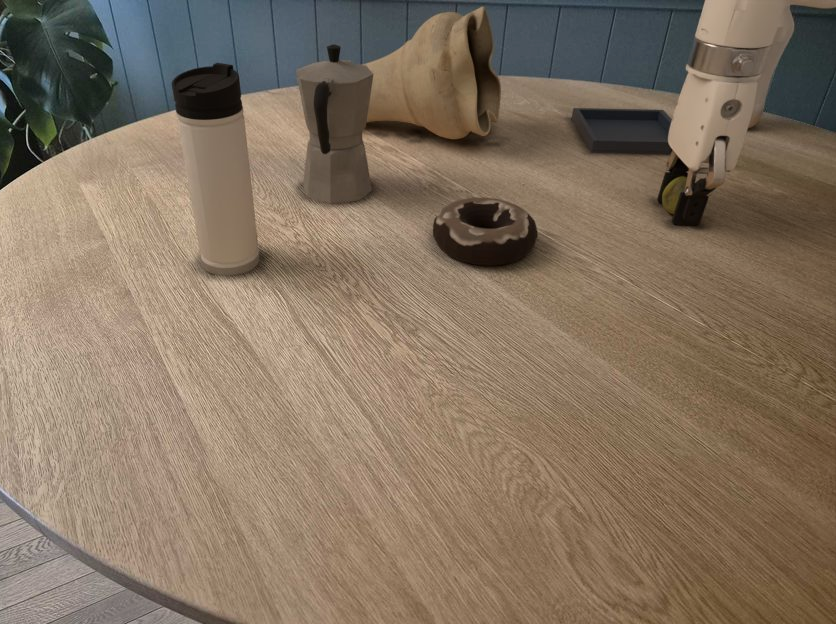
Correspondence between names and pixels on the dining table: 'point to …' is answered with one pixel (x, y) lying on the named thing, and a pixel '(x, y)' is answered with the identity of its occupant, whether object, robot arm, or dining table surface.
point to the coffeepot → (335, 128)
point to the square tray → (623, 130)
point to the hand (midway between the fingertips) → (677, 211)
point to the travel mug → (217, 167)
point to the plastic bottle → (772, 63)
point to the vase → (440, 78)
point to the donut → (485, 231)
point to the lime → (673, 193)
